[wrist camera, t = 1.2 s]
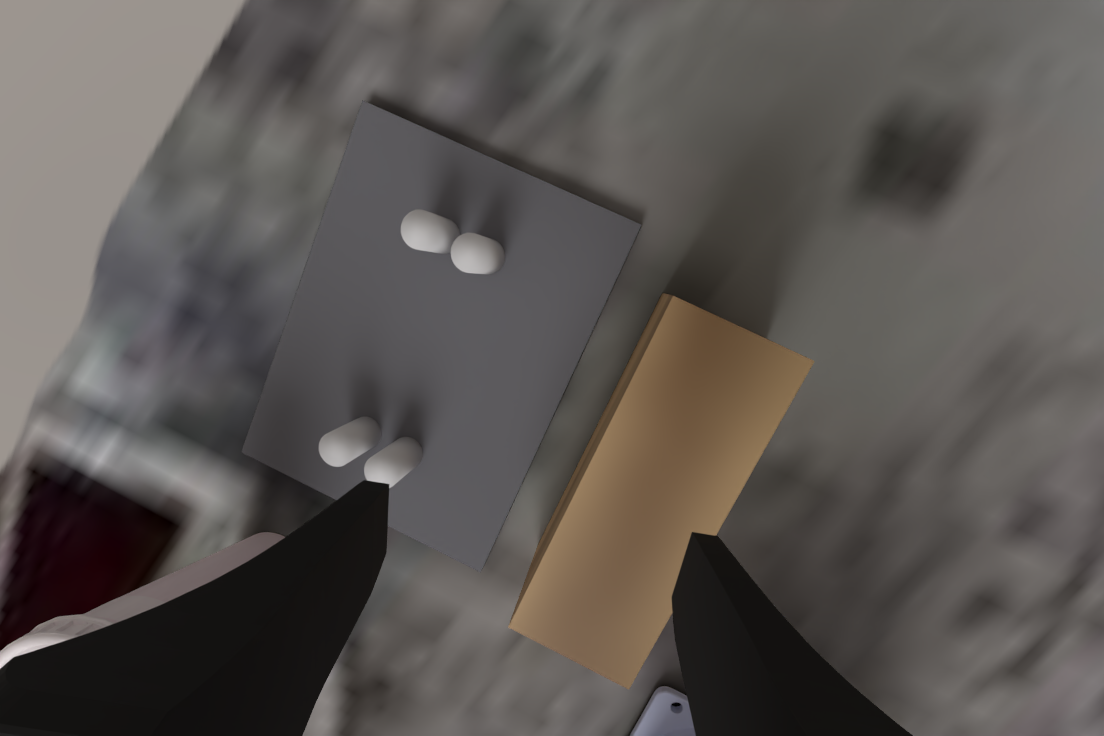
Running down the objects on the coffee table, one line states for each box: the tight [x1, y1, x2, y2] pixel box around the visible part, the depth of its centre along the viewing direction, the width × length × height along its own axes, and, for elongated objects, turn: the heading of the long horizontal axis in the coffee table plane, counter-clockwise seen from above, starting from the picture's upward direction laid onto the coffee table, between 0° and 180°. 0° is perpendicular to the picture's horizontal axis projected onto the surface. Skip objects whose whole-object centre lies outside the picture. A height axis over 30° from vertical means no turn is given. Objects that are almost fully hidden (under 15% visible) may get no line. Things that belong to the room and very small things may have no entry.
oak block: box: [508, 293, 814, 689], centre depth 20 cm, size 4×12×6 cm, turn 155°
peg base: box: [241, 100, 641, 572], centre depth 22 cm, size 12×16×3 cm
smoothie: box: [0, 532, 285, 668], centre depth 19 cm, size 6×6×14 cm
